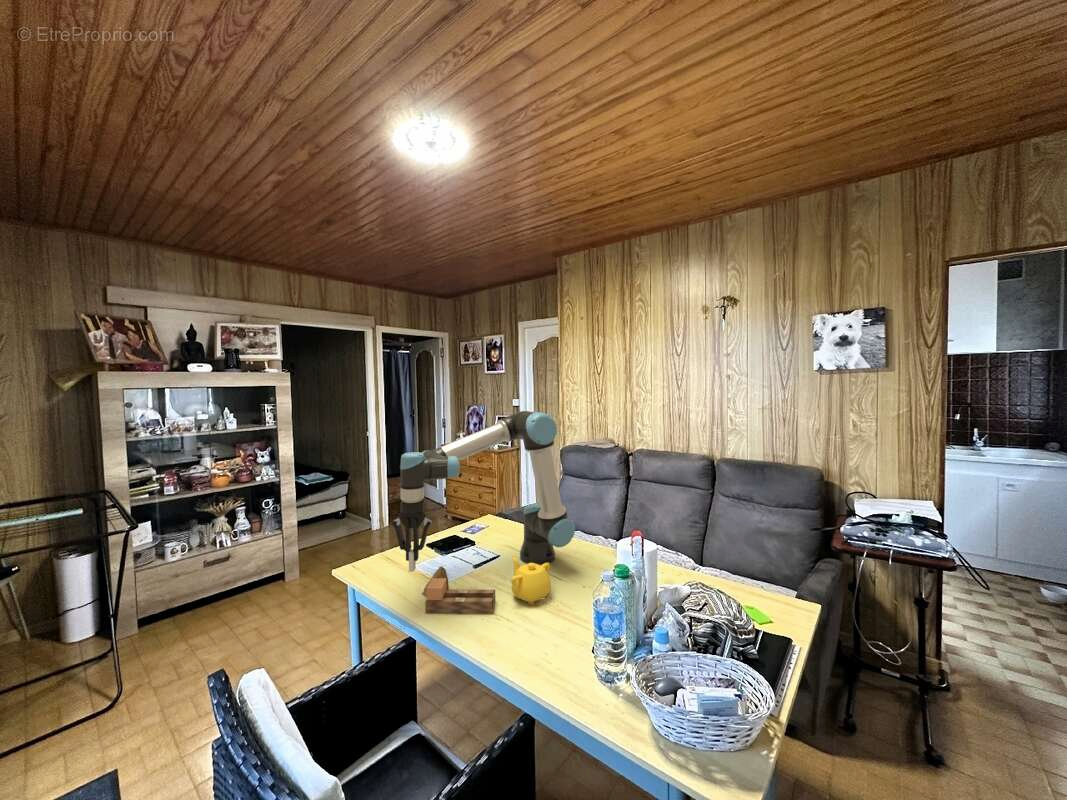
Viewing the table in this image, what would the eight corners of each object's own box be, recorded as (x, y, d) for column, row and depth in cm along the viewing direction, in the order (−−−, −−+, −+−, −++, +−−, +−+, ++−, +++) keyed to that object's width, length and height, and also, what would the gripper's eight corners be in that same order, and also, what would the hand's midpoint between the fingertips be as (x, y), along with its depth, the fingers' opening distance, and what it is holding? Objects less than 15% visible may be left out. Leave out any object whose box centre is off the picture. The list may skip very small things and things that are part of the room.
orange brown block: (446, 597, 143) (446, 578, 143) (442, 608, 136) (441, 588, 136) (431, 597, 143) (431, 578, 143) (426, 608, 136) (426, 588, 136)
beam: (495, 600, 144) (495, 588, 144) (493, 614, 135) (493, 601, 135) (431, 600, 144) (431, 588, 144) (425, 614, 135) (425, 601, 135)
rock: (457, 595, 143) (454, 583, 153) (445, 574, 142) (442, 564, 152) (428, 614, 140) (426, 601, 150) (416, 593, 139) (415, 581, 149)
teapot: (549, 586, 154) (549, 554, 154) (551, 607, 140) (552, 572, 139) (511, 586, 154) (511, 555, 153) (510, 607, 140) (510, 572, 139)
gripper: (434, 496, 142) (434, 565, 143) (396, 496, 142) (396, 565, 143) (429, 503, 134) (429, 575, 135) (388, 502, 134) (388, 574, 135)
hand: (412, 569), depth 139 cm, fingers closed
